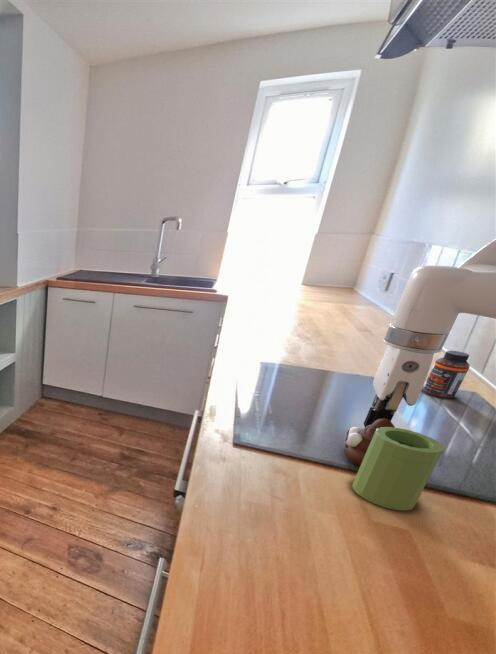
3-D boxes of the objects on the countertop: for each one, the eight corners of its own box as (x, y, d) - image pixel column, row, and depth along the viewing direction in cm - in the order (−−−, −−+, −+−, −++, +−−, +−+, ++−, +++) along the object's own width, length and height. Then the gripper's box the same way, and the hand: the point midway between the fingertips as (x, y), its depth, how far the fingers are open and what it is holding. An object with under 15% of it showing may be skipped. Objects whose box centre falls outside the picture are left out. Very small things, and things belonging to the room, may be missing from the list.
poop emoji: (398, 481, 73) (420, 435, 69) (337, 462, 78) (354, 419, 75) (398, 457, 80) (418, 415, 76) (342, 442, 85) (358, 401, 81)
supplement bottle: (415, 390, 108) (434, 350, 104) (430, 388, 110) (449, 347, 106) (445, 400, 103) (465, 357, 99) (460, 397, 105) (481, 355, 100)
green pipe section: (372, 477, 74) (396, 424, 70) (426, 505, 67) (456, 447, 63) (341, 485, 72) (363, 430, 68) (393, 514, 65) (422, 456, 61)
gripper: (456, 354, 65) (408, 452, 73) (432, 332, 77) (392, 419, 84) (393, 345, 69) (353, 439, 77) (379, 325, 81) (345, 409, 88)
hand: (374, 428), depth 80 cm, fingers closed
